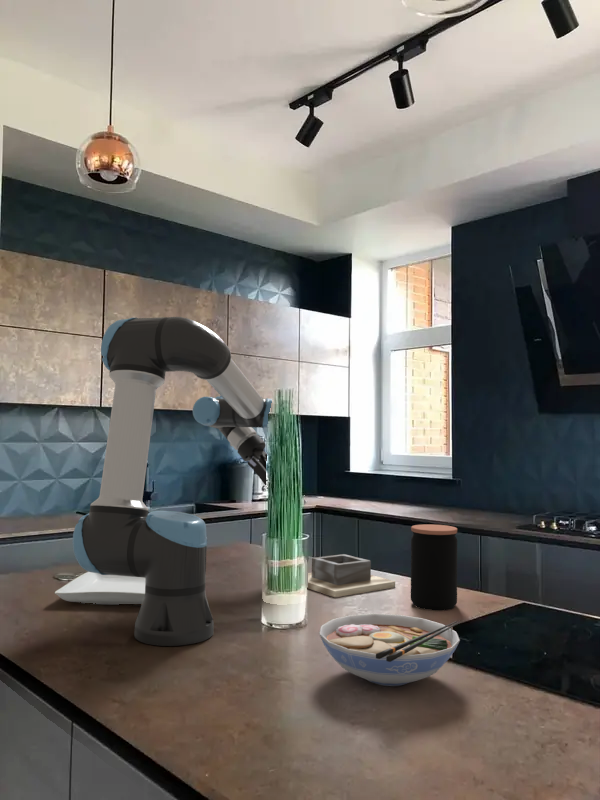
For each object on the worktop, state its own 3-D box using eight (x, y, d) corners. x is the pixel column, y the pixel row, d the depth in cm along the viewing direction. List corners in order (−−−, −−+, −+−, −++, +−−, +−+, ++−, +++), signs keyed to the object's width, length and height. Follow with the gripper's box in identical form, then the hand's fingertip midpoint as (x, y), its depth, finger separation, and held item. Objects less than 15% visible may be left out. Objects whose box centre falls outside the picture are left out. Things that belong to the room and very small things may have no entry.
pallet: (395, 587, 173) (395, 561, 173) (335, 597, 161) (335, 570, 161) (345, 573, 189) (346, 550, 189) (287, 581, 177) (288, 556, 178)
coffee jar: (454, 600, 160) (454, 525, 161) (460, 612, 149) (460, 531, 150) (409, 598, 161) (409, 523, 162) (412, 610, 150) (412, 530, 151)
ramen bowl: (371, 645, 125) (371, 600, 126) (486, 674, 111) (486, 624, 111) (284, 682, 106) (285, 629, 107) (410, 723, 92) (411, 663, 92)
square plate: (173, 611, 148) (174, 593, 148) (51, 608, 149) (52, 591, 149) (195, 583, 175) (195, 568, 175) (91, 581, 176) (92, 566, 176)
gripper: (253, 451, 195) (303, 512, 188) (222, 452, 178) (275, 519, 171) (270, 433, 193) (321, 494, 186) (240, 433, 176) (295, 500, 169)
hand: (299, 506), depth 178 cm, fingers closed on beverage can, 5 cm apart
